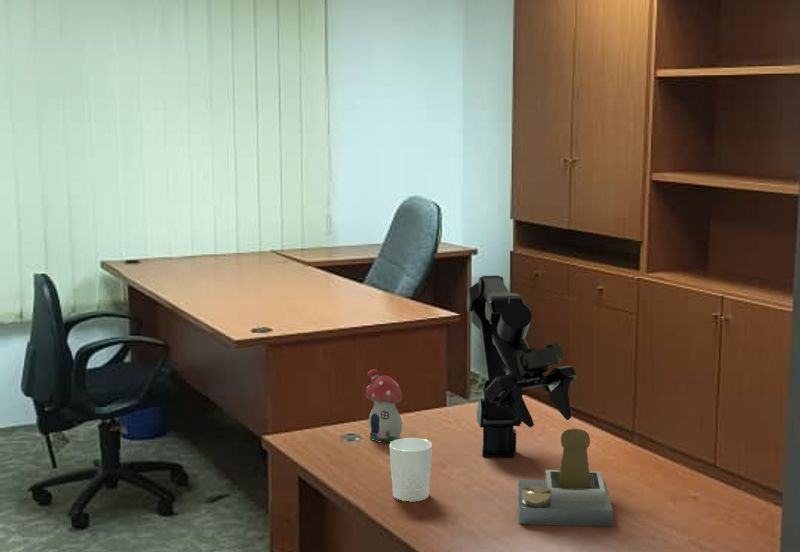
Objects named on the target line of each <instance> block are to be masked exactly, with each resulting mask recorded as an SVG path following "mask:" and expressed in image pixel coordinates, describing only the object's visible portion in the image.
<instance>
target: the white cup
mask: <svg viewBox="0 0 800 552" xmlns="http://www.w3.org/2000/svg"><path fill="white" fill-rule="evenodd" d="M432 453H433V443H432V442H431V441H429V440H427V439H424V438H420V437H419V438H418V437H403V438H398V439H397V440H394V441H392V442H389V463H390V464H389V465H390V474H391V475H390V476H391V483H392V496H393V498H394V499H396V498H397V499H396V500H398V499H399V501H400V500H402V501H401V502H406V501H409V502H408V503H412V502H414V503H416V501H417V502H421V501H424V500H426V499H429V495H430V483H431V475H432V474H431V473H432V456H433V455H432Z"/></svg>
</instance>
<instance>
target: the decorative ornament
mask: <svg viewBox="0 0 800 552" xmlns="http://www.w3.org/2000/svg"><path fill="white" fill-rule="evenodd" d="M367 377H368V378H369V379H370V383H369V384H368V386H367V387H366V391H365V397H366V399H368V400H370V401H372V402H373V403H374V404H373V407H372V409H371V411H370V413H369V417H368V424H369V428H370V429H369V430H370V433H369V438H370V439H371V438H372V439H374V440H377V441H381V442H389V443H391V442H390V441H394V440H397V439H400V437H401V433H402V430H403V421H402V417H401V415H400V413H399V411H398V409H397V406H396V404H398V403H399V402H401V400H402V399H403V393H402V389H401V388H400V385H399V384H398V383H397V381H395V379H393V378H392V377H391V376H388V375H379V370H378V369H376V368H373V369H370V370H368V372H367ZM372 439H371V440H372ZM374 440H373V441H374ZM377 441H376V442H377ZM381 442H380V443H381Z"/></svg>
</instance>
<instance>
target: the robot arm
mask: <svg viewBox="0 0 800 552" xmlns="http://www.w3.org/2000/svg"><path fill="white" fill-rule="evenodd" d="M466 309H467V312H468V313H469V314H470V320H471V323H472V324H473V325H474V326H475V327H476V328H477V329H478V330H479V334H480V343H481V351H482V352H481V353H482V358H483V366H484V375H485V382H484V385H483V387H482V391H481V395H480V396H481V397H480V398H479V400H478V404H477V408H476V422H477V424H478V426H479V428H482V430H483V431H482V450H481V451H482V455H481V456H482V457H491V458H492V457H494V458H495V457H496V458H499V457H500V458H514V457H515V454H514V453H515V452H516V451H517V429H515V428H514V427H521V425H522V423H523V424H525V425H526V426H527V427H528V428H533V427H534V425H535V424H534V419H533V418H532V415H531V414H530V411H529V409H528V407H527V405H526V402H525V399H524V398H523V391H524V390H530V389H535V388H541V387H543V388H544V390H545V391H546V392H548V394H547V395H546V396H547V397H548V398H549V400H550V401H551V402H552V404H553V405H554V406H555V408H556V409H557V410H558V412H559V413H560V414H561V416H562V417H563V418H564V419H565V420H566V421H570V420H571V419H572V412H571V404H570V397H569V395H570V394H569V389H570V386H571V385H572V383H574V380H575V379H576V378H577V377H578V376H577V373H576V371H575V369H574V368H573V366H571V365H563V366H562V365H561V366H557V367H556V366H555V367H554V368H553V369H552V370H551V371H550V372H549V373H548V374H547V375H544V373H546V372H548V371H549V366H553V365H558V364H560V360H562V359H563V358H564V352H563V349H562V347H561V345H560V344H559V343H558V342H552V343H550V344H546V345H545V347H544V348H538V349H536V348H535V347H530V346H529V344H528V342H527V340H526V336H527V334H528V331H529V328H530V325H531V321H532V316H533V314H532V310H531V309H530V307H529V306H528V305H527V303H526V301H525V300H523V297H522V295H520V294H519V293H515V292H510V291H509V289H508V288H507V286H506V284H505V283H504V277H503V276H500V275H482V276H479V278H478V280H477V282H476V283H475V284H473V285H472V286H471V287H469V288H468V292H467V297H466ZM507 372H508V374H507Z"/></svg>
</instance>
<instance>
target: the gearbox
mask: <svg viewBox="0 0 800 552" xmlns="http://www.w3.org/2000/svg"><path fill="white" fill-rule="evenodd" d="M589 475H590V483H591V489H580V488H558V482H559V476H560V469H559V470H558V469H545V479H520V478H519V479H518V487H517V488H518V493H517V495H518V525H535V526H536V525H540V526H541V525H542V526H569V527H570V526H571V527H572V526H573V527H574V526H575V527H599V528H601V527H602V528H607V527H608V528H612V527H613V522H614V521H613V520H614V519H613V515H614V510H613V505H612V501H611V497H610V494H609V490H608V486H607V482H606V481H603V476H602V472H601V471H597V470H594V471H593V470H589Z"/></svg>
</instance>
